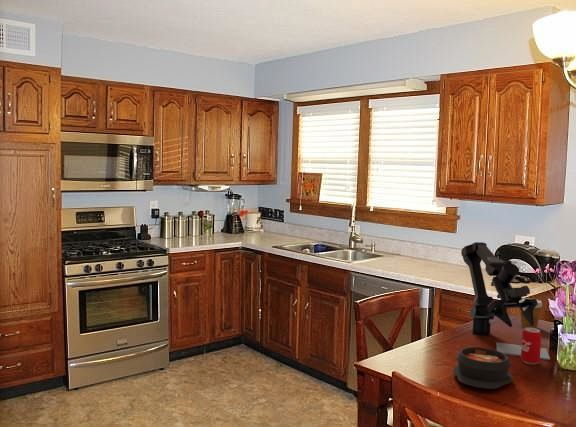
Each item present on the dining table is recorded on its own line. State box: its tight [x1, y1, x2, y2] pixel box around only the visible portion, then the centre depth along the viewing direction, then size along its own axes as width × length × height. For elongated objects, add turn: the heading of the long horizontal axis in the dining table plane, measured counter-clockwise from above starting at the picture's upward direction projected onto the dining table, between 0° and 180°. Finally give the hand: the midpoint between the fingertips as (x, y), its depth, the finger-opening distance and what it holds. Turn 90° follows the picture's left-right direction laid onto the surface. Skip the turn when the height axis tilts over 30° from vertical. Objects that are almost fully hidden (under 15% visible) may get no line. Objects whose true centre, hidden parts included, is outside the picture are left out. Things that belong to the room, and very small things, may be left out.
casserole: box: [452, 346, 514, 390], centre depth 176 cm, size 25×19×8 cm
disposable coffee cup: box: [519, 297, 543, 329], centre depth 237 cm, size 10×10×12 cm
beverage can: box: [520, 327, 542, 365], centre depth 193 cm, size 6×6×12 cm
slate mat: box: [495, 342, 551, 361], centre depth 204 cm, size 18×12×1 cm, turn 70°
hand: (522, 326), depth 197 cm, fingers open, 9 cm apart
